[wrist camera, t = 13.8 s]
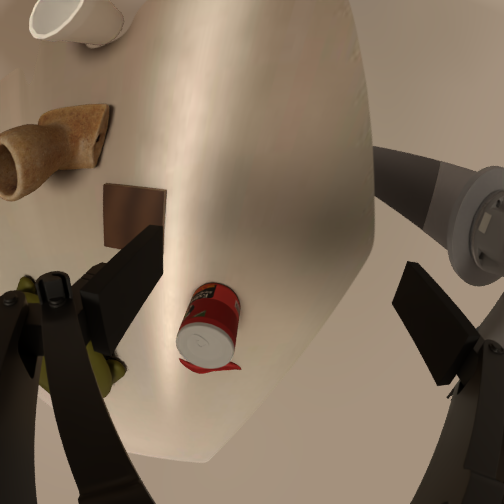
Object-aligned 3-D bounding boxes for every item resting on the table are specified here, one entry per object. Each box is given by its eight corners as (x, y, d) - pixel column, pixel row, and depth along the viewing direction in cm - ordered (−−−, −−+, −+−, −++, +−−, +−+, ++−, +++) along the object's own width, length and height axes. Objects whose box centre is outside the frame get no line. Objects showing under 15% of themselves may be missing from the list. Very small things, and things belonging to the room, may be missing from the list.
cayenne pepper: (178, 365, 52) (176, 372, 51) (179, 350, 51) (177, 356, 49) (238, 379, 53) (237, 386, 51) (242, 364, 51) (242, 371, 49)
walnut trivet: (166, 189, 39) (164, 191, 38) (163, 254, 43) (161, 256, 42) (106, 183, 38) (103, 184, 38) (107, 243, 43) (104, 246, 42)
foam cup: (73, 34, 28) (21, 19, 16) (114, -7, 26) (70, -36, 14) (98, 65, 31) (44, 52, 19) (144, 21, 28) (100, -10, 17)
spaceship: (86, 402, 63) (74, 427, 54) (6, 330, 55) (-13, 351, 46) (145, 356, 52) (128, 392, 43) (33, 251, 44) (2, 274, 35)
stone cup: (41, 178, 38) (-21, 203, 24) (43, 110, 33) (-23, 116, 20) (110, 182, 38) (47, 211, 25) (115, 103, 34) (49, 100, 20)
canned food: (210, 272, 44) (195, 315, 34) (250, 302, 45) (246, 349, 35) (183, 302, 46) (164, 347, 36) (221, 329, 48) (212, 376, 38)
